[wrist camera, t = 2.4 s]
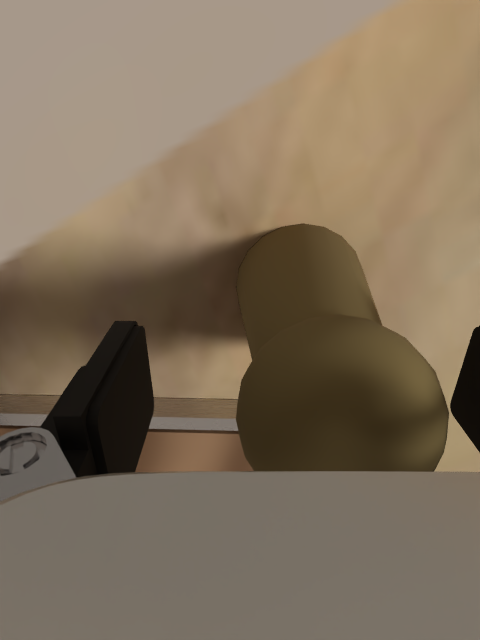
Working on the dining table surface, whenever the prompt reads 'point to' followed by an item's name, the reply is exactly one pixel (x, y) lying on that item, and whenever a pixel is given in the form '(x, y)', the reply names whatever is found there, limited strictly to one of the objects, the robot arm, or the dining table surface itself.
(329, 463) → the cork
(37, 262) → the dining table surface
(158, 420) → the rails
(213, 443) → the brown tray
